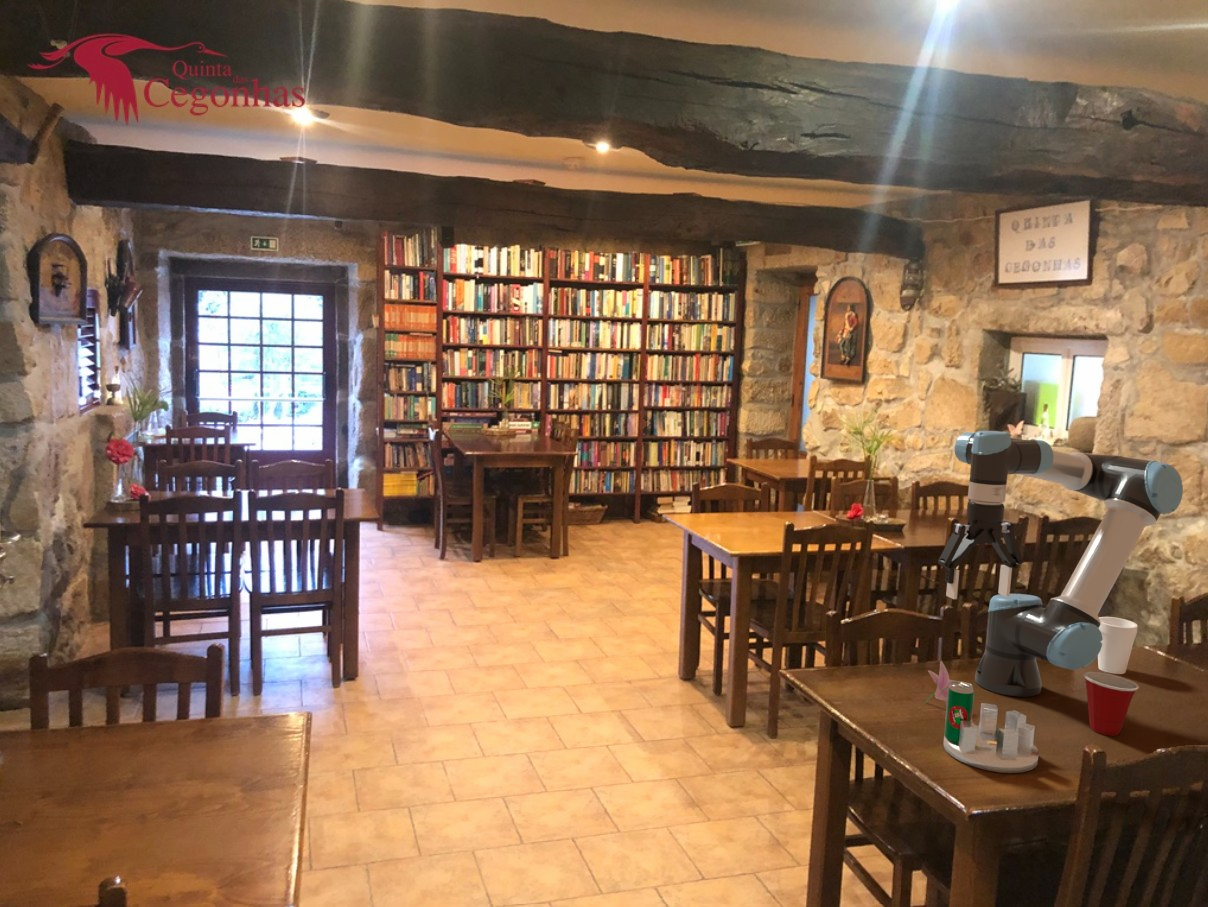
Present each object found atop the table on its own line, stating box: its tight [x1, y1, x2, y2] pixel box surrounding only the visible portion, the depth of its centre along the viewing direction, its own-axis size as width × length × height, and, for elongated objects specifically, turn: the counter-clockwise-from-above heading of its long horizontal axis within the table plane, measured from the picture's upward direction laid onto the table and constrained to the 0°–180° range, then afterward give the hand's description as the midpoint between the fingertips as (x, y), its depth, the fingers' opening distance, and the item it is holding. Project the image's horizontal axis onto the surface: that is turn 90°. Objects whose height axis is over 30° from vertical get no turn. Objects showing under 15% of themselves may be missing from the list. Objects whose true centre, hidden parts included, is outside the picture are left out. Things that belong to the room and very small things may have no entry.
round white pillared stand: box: [943, 702, 1039, 774], centre depth 188 cm, size 18×18×8 cm
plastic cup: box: [1083, 671, 1140, 737], centre depth 202 cm, size 11×11×12 cm
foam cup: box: [1097, 616, 1138, 675], centre depth 241 cm, size 10×9×13 cm
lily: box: [924, 660, 955, 706], centre depth 212 cm, size 12×12×10 cm
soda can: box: [943, 680, 975, 744], centre depth 189 cm, size 5×5×12 cm
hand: (977, 596), depth 202 cm, fingers open, 13 cm apart
